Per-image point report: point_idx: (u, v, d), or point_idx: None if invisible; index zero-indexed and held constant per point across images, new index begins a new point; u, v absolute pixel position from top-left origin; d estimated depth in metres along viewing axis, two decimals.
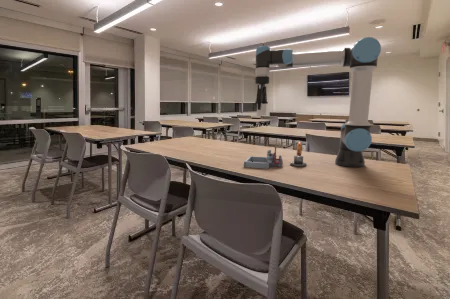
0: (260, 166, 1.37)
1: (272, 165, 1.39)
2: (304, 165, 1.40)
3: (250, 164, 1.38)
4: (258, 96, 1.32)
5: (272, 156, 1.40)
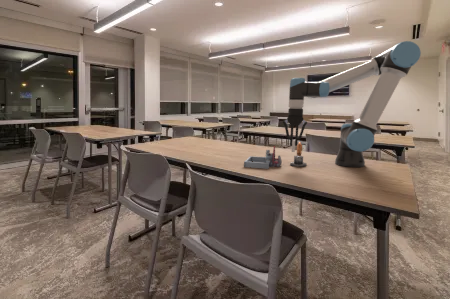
0: (260, 166, 1.37)
1: (270, 165, 1.40)
2: (304, 165, 1.40)
3: (250, 164, 1.38)
4: (286, 133, 1.38)
5: (271, 156, 1.41)
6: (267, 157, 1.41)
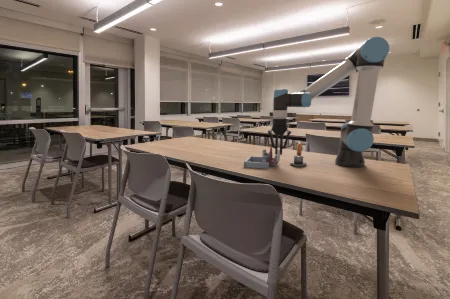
0: (260, 166, 1.37)
1: None
2: (304, 165, 1.40)
3: (250, 164, 1.38)
4: (271, 142, 1.42)
5: (267, 155, 1.42)
6: (264, 157, 1.42)
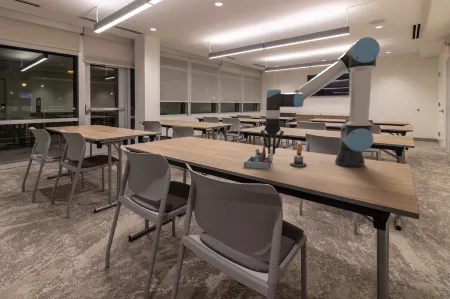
0: (260, 166, 1.37)
1: None
2: (304, 165, 1.40)
3: (250, 164, 1.38)
4: None
5: (260, 155, 1.43)
6: (257, 156, 1.44)
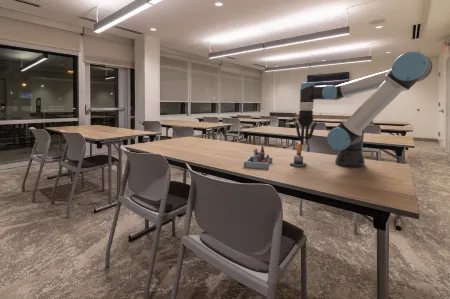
0: (260, 166, 1.37)
1: None
2: (304, 165, 1.40)
3: (250, 164, 1.38)
4: (297, 133, 1.49)
5: (258, 155, 1.44)
6: (255, 156, 1.45)
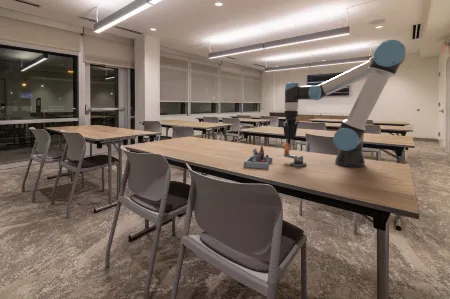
0: (260, 166, 1.37)
1: None
2: (304, 165, 1.40)
3: (250, 164, 1.38)
4: (285, 134, 1.47)
5: (258, 155, 1.44)
6: (254, 156, 1.45)
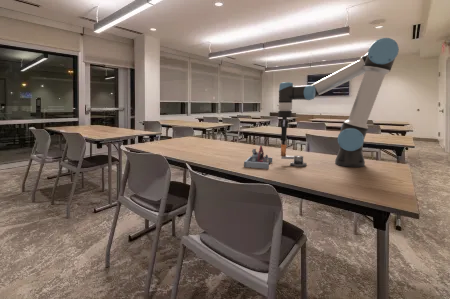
0: (260, 166, 1.37)
1: None
2: (304, 165, 1.40)
3: (250, 164, 1.38)
4: (283, 134, 1.42)
5: (257, 155, 1.44)
6: (253, 156, 1.45)
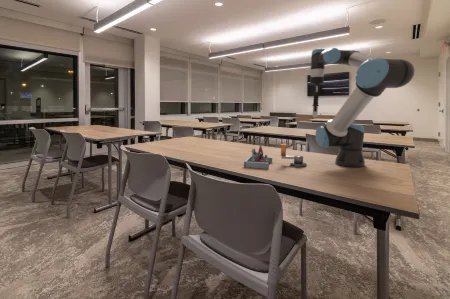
0: (260, 166, 1.37)
1: None
2: (304, 165, 1.40)
3: (250, 164, 1.38)
4: (315, 100, 1.48)
5: (256, 155, 1.44)
6: (253, 156, 1.45)
